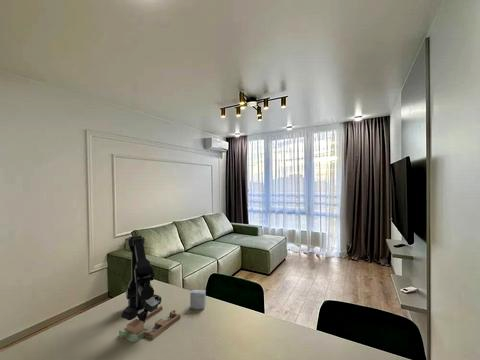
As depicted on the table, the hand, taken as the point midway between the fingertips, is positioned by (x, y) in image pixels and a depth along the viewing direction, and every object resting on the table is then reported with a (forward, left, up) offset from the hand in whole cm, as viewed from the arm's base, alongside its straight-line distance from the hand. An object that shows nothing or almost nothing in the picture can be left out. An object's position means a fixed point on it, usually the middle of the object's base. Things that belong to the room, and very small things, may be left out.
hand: (142, 324), depth 108 cm
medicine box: (+12, +28, -2) cm, 30 cm away
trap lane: (+2, +4, -2) cm, 5 cm away
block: (0, -4, -2) cm, 5 cm away
